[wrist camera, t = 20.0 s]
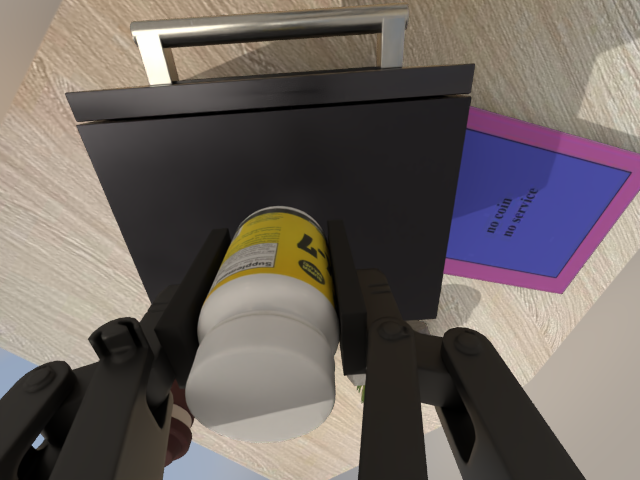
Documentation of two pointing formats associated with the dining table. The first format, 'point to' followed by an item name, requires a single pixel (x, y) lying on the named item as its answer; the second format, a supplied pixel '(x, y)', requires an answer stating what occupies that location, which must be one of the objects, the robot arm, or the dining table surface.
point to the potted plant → (361, 378)
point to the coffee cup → (179, 426)
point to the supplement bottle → (268, 333)
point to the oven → (291, 183)
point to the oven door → (270, 89)
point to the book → (534, 202)
